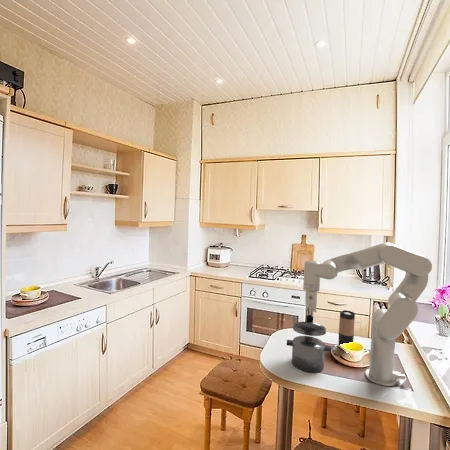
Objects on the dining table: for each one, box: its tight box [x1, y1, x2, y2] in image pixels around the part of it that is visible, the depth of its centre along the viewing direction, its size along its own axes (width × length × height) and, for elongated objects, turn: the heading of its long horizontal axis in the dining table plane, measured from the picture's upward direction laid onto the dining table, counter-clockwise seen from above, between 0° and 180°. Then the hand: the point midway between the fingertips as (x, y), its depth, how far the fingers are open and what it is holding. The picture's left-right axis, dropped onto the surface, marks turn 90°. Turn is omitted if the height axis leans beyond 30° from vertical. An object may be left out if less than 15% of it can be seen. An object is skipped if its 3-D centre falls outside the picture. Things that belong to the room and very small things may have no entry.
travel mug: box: [337, 309, 356, 345], centre depth 163 cm, size 8×8×20 cm
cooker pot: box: [286, 335, 332, 374], centre depth 145 cm, size 21×17×11 cm
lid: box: [292, 321, 327, 337], centre depth 147 cm, size 16×16×3 cm
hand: (309, 323), depth 144 cm, fingers closed
